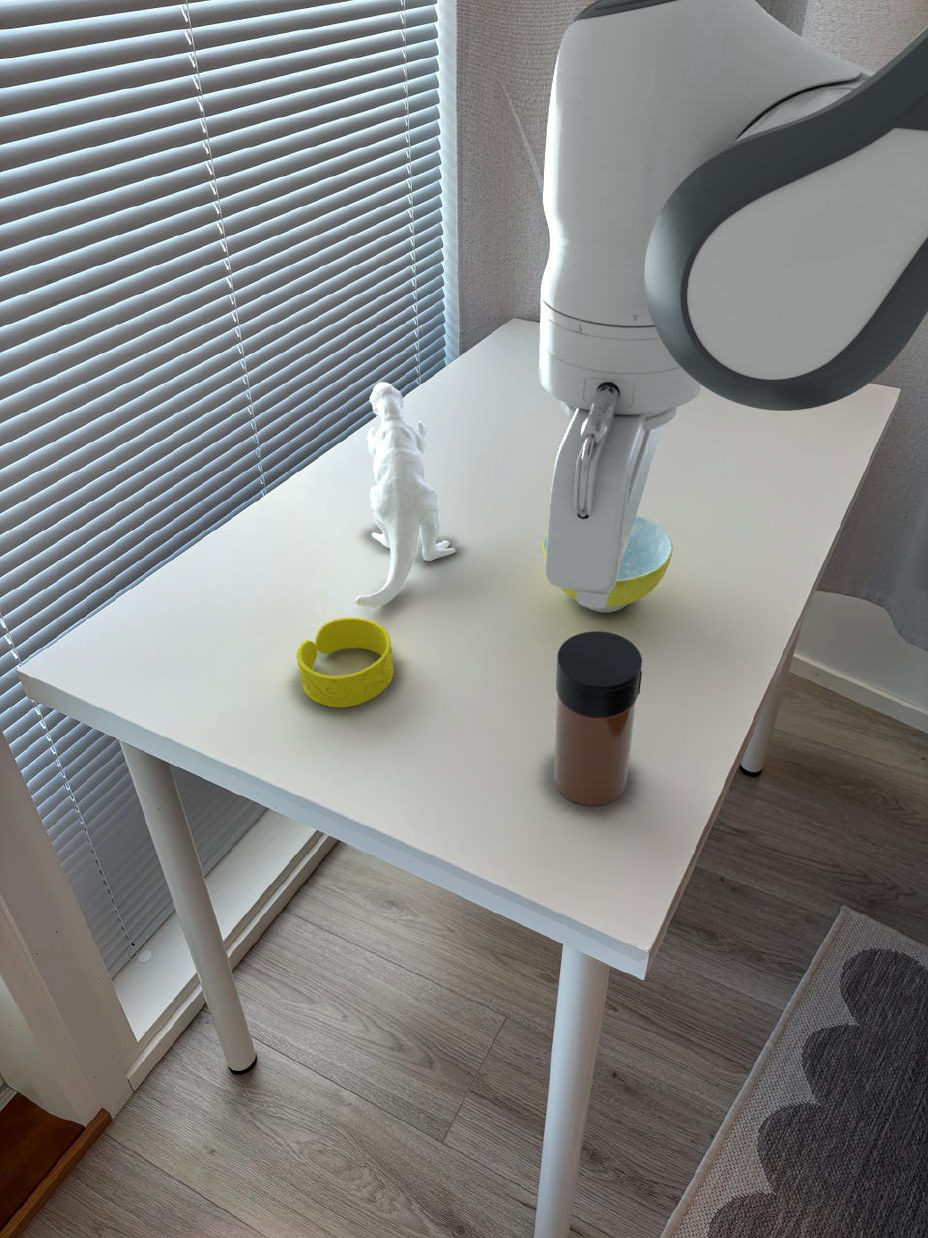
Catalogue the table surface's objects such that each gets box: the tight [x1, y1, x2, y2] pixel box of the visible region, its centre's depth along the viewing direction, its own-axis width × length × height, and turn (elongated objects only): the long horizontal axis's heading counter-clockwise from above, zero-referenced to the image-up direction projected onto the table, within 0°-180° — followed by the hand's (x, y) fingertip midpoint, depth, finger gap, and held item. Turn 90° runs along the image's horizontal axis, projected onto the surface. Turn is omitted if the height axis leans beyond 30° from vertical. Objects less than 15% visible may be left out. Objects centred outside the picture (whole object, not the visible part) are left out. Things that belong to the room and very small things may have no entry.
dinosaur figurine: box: [354, 381, 457, 609], centre depth 89 cm, size 20×10×15 cm, turn 170°
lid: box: [555, 630, 643, 717], centre depth 64 cm, size 6×6×3 cm
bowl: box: [542, 514, 674, 614], centre depth 86 cm, size 11×12×6 cm
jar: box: [553, 694, 637, 807], centre depth 67 cm, size 5×5×12 cm
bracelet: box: [296, 617, 394, 708], centre depth 80 cm, size 7×8×3 cm
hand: (605, 562), depth 59 cm, fingers open, 6 cm apart
